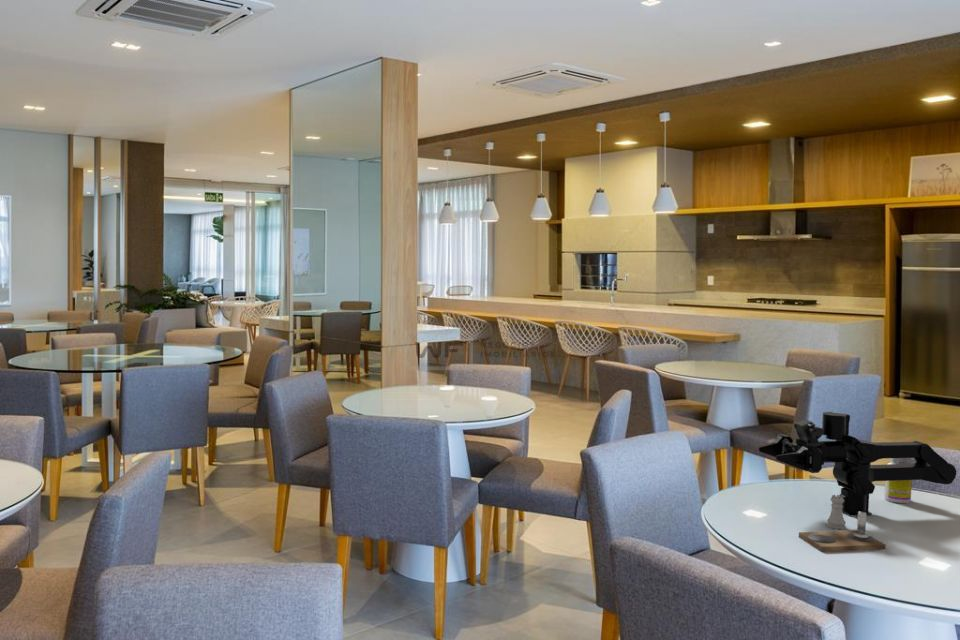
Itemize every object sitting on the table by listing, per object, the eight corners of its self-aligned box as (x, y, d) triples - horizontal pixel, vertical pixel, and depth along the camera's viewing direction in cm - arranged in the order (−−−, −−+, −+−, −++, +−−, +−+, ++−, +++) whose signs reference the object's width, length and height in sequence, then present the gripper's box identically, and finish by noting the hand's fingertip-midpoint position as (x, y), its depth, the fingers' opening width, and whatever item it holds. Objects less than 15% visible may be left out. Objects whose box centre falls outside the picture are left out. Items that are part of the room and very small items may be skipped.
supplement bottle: (915, 504, 222) (917, 458, 222) (891, 503, 223) (893, 458, 222) (903, 497, 229) (905, 453, 228) (879, 496, 229) (881, 452, 228)
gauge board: (859, 534, 196) (859, 529, 196) (885, 549, 186) (885, 544, 186) (798, 537, 194) (798, 531, 194) (821, 552, 184) (821, 546, 184)
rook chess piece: (823, 524, 204) (824, 493, 203) (839, 524, 204) (841, 493, 204) (832, 530, 199) (833, 499, 199) (849, 530, 200) (850, 498, 199)
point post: (863, 534, 193) (864, 510, 192) (871, 539, 189) (872, 514, 189) (850, 535, 192) (851, 510, 192) (858, 539, 189) (859, 514, 189)
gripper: (804, 415, 220) (751, 416, 218) (844, 429, 202) (787, 430, 200) (803, 454, 221) (750, 456, 219) (843, 472, 203) (785, 474, 201)
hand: (767, 453), depth 210 cm, fingers open, 9 cm apart
